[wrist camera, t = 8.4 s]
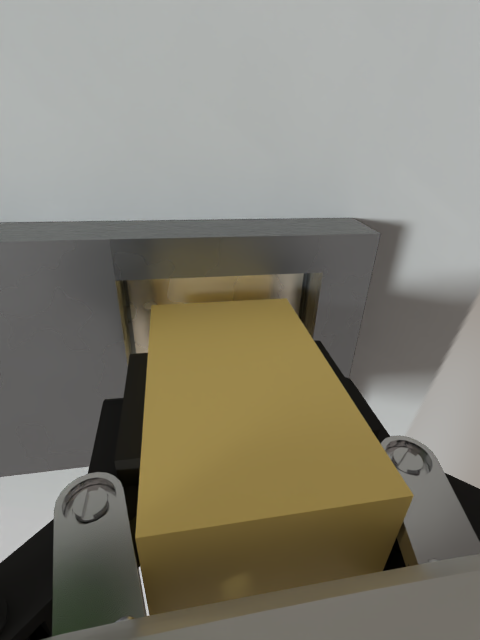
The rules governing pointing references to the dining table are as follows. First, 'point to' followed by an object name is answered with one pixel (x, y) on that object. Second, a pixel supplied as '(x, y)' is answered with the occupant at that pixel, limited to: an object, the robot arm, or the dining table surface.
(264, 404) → the yellow block
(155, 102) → the dining table surface
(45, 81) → the dining table surface
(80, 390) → the gray recessed board
